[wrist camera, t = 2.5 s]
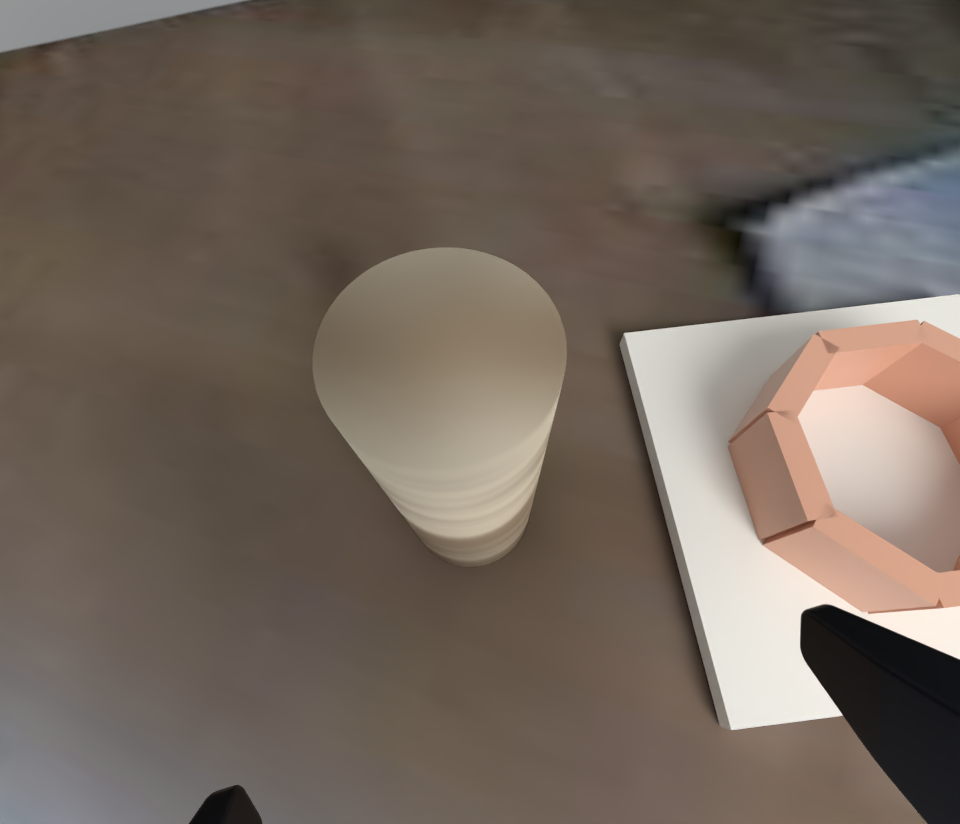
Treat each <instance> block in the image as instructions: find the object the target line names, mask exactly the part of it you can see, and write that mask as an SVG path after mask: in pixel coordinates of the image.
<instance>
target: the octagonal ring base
mask: <svg viewBox="0 0 960 824" xmlns="http://www.w3.org/2000/svg"><path fill="white" fill-rule="evenodd" d="M619 345H620V349H621V352H622V356H623V360H624V364H625V368H626V371H627V375H628V379H629V383H630V387H631V390H632V394H633V398H634V402H635V406H636V409H637V413H638V417H639V421H640V425H641V428H642V432H643V436H644V440H645V444H646V447H647V451H648V455H649V459H650V463H651V466H652V470H653V474H654V478H655V482H656V485H657V489H658V493H659V497H660V500H661V504H662V508H663V512H664V516H665V519H666V523H667V527H668V531H669V535H670V538H671V542H672V546H673V550H674V554H675V557H676V561H677V565H678V569H679V573H680V576H681V580H682V584H683V588H684V592H685V595H686V599H687V603H688V607H689V611H690V614H691V618H692V622H693V626H694V630H695V633H696V637H697V641H698V645H699V649H700V652H701V656H702V660H703V664H704V668H705V671H706V675H707V679H708V683H709V687H710V690H711V694H712V698H713V702H714V706H715V709H716V713H717V717H718V721H719V725H720V726H722V727H725V728H727V729H730V730H736V729H743V728H751V727H759V726H766V725H774V724H782V723H789V722H797V721H805V720H812V719H820V718H828V717H835V716H843V715H842V713H841V712H840V711H839V709H838V708H837V706H836V705H835V703H834V702H833V701H832V699H831V698H830V696H829V695H828V694H827V692H826V691H825V689H824V688H823V686H822V685H821V684H820V682H819V681H818V679H817V678H816V676H815V675H814V674H813V672H812V671H811V669H810V668H809V667H808V665H807V664H806V662H805V660H804V658H803V656H802V653H801V649H800V624H801V614H802V612H803V611H804V610H806V609H809V608H812V607H815V606H818V605H822V604H829V605H833V606H836V607H838V608H840V609H843V610H845V611H847V612H850V613H852V614H854V615H857V616H859V617H861V618H864V619H866V620H869V621H871V622H873V623H876V624H878V625H880V626H883V627H885V628H887V629H890V630H892V631H894V632H897V633H899V634H901V635H904V636H906V637H908V638H911V639H913V640H916V641H918V642H920V643H923V644H925V645H927V646H930V647H932V648H934V649H937V650H939V651H941V652H944V653H946V654H948V655H951V656H953V657H955V658H958V659H960V295H959V294H958V295H949V296H940V297H932V298H923V299H914V300H906V301H897V302H889V303H880V304H871V305H863V306H854V307H845V308H837V309H828V310H820V311H811V312H802V313H794V314H785V315H776V316H768V317H759V318H751V319H742V320H733V321H725V322H716V323H707V324H699V325H690V326H681V327H673V328H664V329H656V330H647V331H638V332H630V333H624V334H623V337H622V339H621V342H620V344H619Z"/></svg>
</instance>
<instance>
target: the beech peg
mask: <svg viewBox="0 0 960 824" xmlns="http://www.w3.org/2000/svg"><path fill="white" fill-rule="evenodd" d="M566 362H567V344H566V336H565V331H564V327H563V324H562V321H561V318H560V316H559V313H558V311H557V309H556V307H555V305H554V304H553V302H552V301H551V299H550V297H549V296H548V294H547V293H546V292H545V291H544V290H543V289H542V287H541V286H540V285H539V284H538V283H537V282H536V281H535V280H534V279H532V278H531V277H530V276H529V275H528V274H527V273H525V272H524V271H522V270H521V269H519V268H518V267H516V266H515V265H513V264H511V263H509V262H507V261H505V260H503V259H501V258H498V257H496V256H493V255H490V254H487V253H484V252H480V251H476V250H470V249H463V248H448V247H442V248H428V249H422V250H416V251H412V252H408V253H405V254H401V255H398V256H395V257H393V258H390V259H388V260H385V261H383V262H381V263H379V264H377V265H376V266H374V267H372V268H370V269H369V270H367V271H366V272H364V273H363V274H361V275H360V276H359V277H357V278H356V279H355V280H354V281H352V282H351V283H350V284H349V285H348V286H347V287H346V288H345V289H344V290H343V291H342V292H341V293H340V294H339V295H338V297H337V298H336V299H335V301H334V302H333V303H332V305H331V306H330V307H329V309H328V311H327V313H326V314H325V316H324V318H323V320H322V322H321V325H320V327H319V330H318V332H317V336H316V340H315V344H314V349H313V359H312V365H313V378H314V383H315V387H316V391H317V394H318V397H319V399H320V402H321V404H322V406H323V408H324V410H325V411H326V413H327V415H328V417H329V418H330V420H331V421H332V422H333V424H334V425H335V426H336V428H337V429H338V430H339V432H340V433H341V434H342V436H343V437H344V438H345V440H346V441H347V442H348V444H349V445H350V446H351V448H352V449H353V450H354V452H355V453H356V454H357V456H358V457H359V458H360V460H361V461H362V462H363V464H364V465H365V466H366V468H367V469H368V470H369V472H370V473H371V474H372V476H373V477H374V478H375V480H376V481H377V482H378V484H379V485H380V486H381V488H382V489H383V490H384V492H385V493H386V494H387V496H388V497H389V498H390V500H391V501H392V502H393V504H394V505H395V506H396V508H397V509H398V510H399V512H400V513H401V514H402V516H403V517H404V518H405V520H406V521H407V522H408V524H409V525H410V526H411V528H412V529H413V530H414V532H415V533H416V534H417V536H418V537H419V538H420V540H421V541H422V542H423V544H424V545H425V546H426V547H427V548H428V549H429V550H430V551H431V552H432V553H433V554H434V555H436V556H437V557H438V558H440V559H442V560H444V561H445V562H448V563H451V564H453V565H458V566H464V567H477V566H482V565H487V564H490V563H492V562H495V561H497V560H499V559H501V558H502V557H503V556H505V555H506V554H508V553H509V552H510V551H511V550H512V549H513V548H514V547H515V546H516V545H517V543H518V542H519V540H520V539H521V537H522V536H523V534H524V531H525V529H526V526H527V523H528V519H529V515H530V511H531V507H532V503H533V499H534V495H535V491H536V487H537V483H538V479H539V475H540V471H541V467H542V463H543V459H544V455H545V451H546V447H547V443H548V439H549V435H550V431H551V427H552V423H553V419H554V415H555V411H556V407H557V403H558V399H559V395H560V391H561V387H562V383H563V379H564V374H565V368H566Z"/></svg>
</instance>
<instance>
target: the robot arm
mask: <svg viewBox="0 0 960 824" xmlns="http://www.w3.org/2000/svg"><path fill="white" fill-rule="evenodd" d="M800 649H801V653H802V656H803V658H804V660H805V662H806V664H807V665H808V667H809V668H810V669H811V671H812V672H813V674H814V675H815V676H816V678H817V679H818V681H819V682H820V684H821V685H822V686H823V688H824V689H825V691H826V692H827V694H828V695H829V696H830V698H831V699H832V701H833V702H834V703H835V705H836V706H837V708H838V709H839V711H840V712H841V713H842V715H843V716H844V718H845V719H846V721H847V722H848V723H849V725H850V726H851V728H852V729H853V730H854V732H855V733H856V735H857V736H858V738H859V739H860V740H861V742H862V743H863V745H864V746H865V747H866V749H867V750H868V751H869V753H870V754H871V755H872V757H873V758H874V759H875V761H876V762H877V763H878V764H879V766H880V767H881V768H882V769H883V771H884V772H885V773H886V774H887V776H888V777H889V778H890V779H891V780H892V782H893V783H894V784H895V785H896V786H897V788H898V789H899V790H900V791H901V792H902V794H903V795H904V796H905V797H906V798H907V800H908V801H909V802H910V803H911V804H912V806H913V807H914V808H915V809H916V810H917V812H918V813H919V814H920V815H921V816H922V818H923V819H924V820H925V821H926V822H927V824H960V659H958V658H955V657H953V656H951V655H948V654H946V653H944V652H941V651H939V650H937V649H934V648H932V647H930V646H927V645H925V644H923V643H920V642H918V641H916V640H913V639H911V638H908V637H906V636H904V635H901V634H899V633H897V632H894V631H892V630H890V629H887V628H885V627H883V626H880V625H878V624H876V623H873V622H871V621H869V620H866V619H864V618H861V617H859V616H857V615H854V614H852V613H850V612H847V611H845V610H843V609H840V608H838V607H836V606H833V605H829V604H822V605H818V606H815V607H812V608H809V609H806V610H804V611H803V612H802V614H801V624H800ZM189 824H262V820H261V817H260V815H259V813H258V812H257V810H256V808H255V807H254V805H253V803H252V801H251V800H250V798H249V796H248V795H247V793H246V791H245V789H244V788H243V787H241V786H239V785H234V786H231V787H228V788H225V789H221V790H218V791H216V792H213V793H212V794H211V795H210V796H209V797H208V798H207V799H206V800H205V801H204V803H203V804H202V805H201V807H200V808H199V810H198V811H197V813H196V814H195V815H194V817H193V818H192V820H191V821H190V823H189Z"/></svg>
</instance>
